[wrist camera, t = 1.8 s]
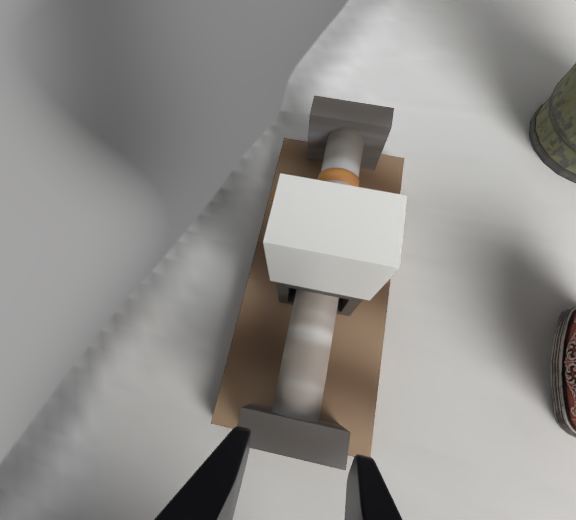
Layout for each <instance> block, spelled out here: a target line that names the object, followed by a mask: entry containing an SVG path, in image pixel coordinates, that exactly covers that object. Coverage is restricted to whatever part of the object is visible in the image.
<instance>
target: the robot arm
mask: <svg viewBox="0 0 576 520" xmlns="http://www.w3.org/2000/svg"><path fill="white" fill-rule="evenodd" d="M250 440H251V430H250V429H248V428H244V427H240V426H236V427H235V428H233V429H232V431H231V432H230V433H229V434H228V435H227V436H226V437H225V439H224V440H223V441H222V442H221V443H220V444H219V446H218V447H217V448H216V449H215V450H214V451H213V452H212V454H211V455H210V456H209V457H208V458H207V459H206V461H205V462H204V463H203V464H202V465H201V466H200V467H199V469H198V470H197V471H196V472H195V473H194V474H193V476H192V477H191V478H190V479H189V480H188V481H187V482H186V484H185V485H184V486H183V487H182V488H181V489H180V491H179V492H178V493H177V494H176V495H175V496H174V497H173V499H172V500H171V501H170V502H169V503H168V504H167V506H166V507H165V508H164V509H163V510H162V511H161V512H160V514H159V515H158V516H157V517H156V518H155V519H154V520H232V519H233V515H234V511H235V507H236V503H237V499H238V495H239V491H240V487H241V482H242V478H243V474H244V470H245V466H246V462H247V458H248V453H249V447H250ZM345 520H402V518H401V516H400V514H399V512H398V509H397V507H396V505H395V503H394V501H393V499H392V497H391V495H390V493H389V490H388V488H387V486H386V484H385V482H384V480H383V478H382V476H381V474H380V472H379V469H378V467H377V465H376V463H375V461H374V460H373V459H372V458H371V457H368V456H364V455H360V454H357V455H356V456H355V457H354V460H353V463H352V466H351V469H350V472H349V475H348V479H347V490H346V506H345Z"/></svg>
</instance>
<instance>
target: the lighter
mask: <svg viewBox="0 0 576 520" xmlns="http://www.w3.org/2000/svg"><path fill="white" fill-rule="evenodd" d="M551 392H552V400H553V407H554V415H555V418H556V421H557V423H558V424H559V426H560V427H561V428H562V429H563V430H564V431H565V432H566V433H567V434H569V435H571V436H573V437H575V438H576V308H572V309H568V310H566V311H564V312H563V313H562V314H561V316H560V317H559V321H558V325H557V328H556V332H555V335H554V340H553V348H552V355H551Z"/></svg>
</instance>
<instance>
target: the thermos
mask: <svg viewBox="0 0 576 520" xmlns="http://www.w3.org/2000/svg"><path fill="white" fill-rule="evenodd" d="M529 135H530V139H531V142H532V145H533V148H534V150H535V151H536V153H537V154H538V155H539V157H540V158H541V160H542V161H543V162H544V163H545V164H546V165H547V166H548V167H550V168H551V169H552V170H553V171H554V172H556V173H557V174H558V175H560V176H562V177H564V178H566V179H568V180H571V181H573V182H575V183H576V64H575V65H574V66H573V67H572V68H571V69H570V71H569V72H568V73H567V74H566V75H565V76H564V77H563V78H562V80H561V81H560V82H559V83H558V84H557V86H556V88H555V89H554V91H553V93H552V95H551V97H550V98H549V99H548V100H547V101H546V102H545V103H544V104H543V105H541V106H540V108H539V109H538V110H537V111H536V113H535V114H534V116H533V118H532V120H531V122H530V133H529Z"/></svg>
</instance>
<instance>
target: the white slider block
mask: <svg viewBox="0 0 576 520" xmlns="http://www.w3.org/2000/svg"><path fill="white" fill-rule="evenodd" d="M406 204H407V195H401V194H395V193H390V192H384V191H378V190H372V189H367V188H361V187H355V186H350V185H344V184H338V183H333V182H327V181H321V180H316V179H310V178H304V177H298V176H293V175H287V174H281V173H280V176H279V180H278V184H277V188H276V192H275V196H274V200H273V204H272V208H271V212H270V216H269V220H268V224H267V228H266V232H265V236H264V240H263V245H264V250H265V256H266V261H267V266H268V272H269V277H270V281H274V282H276V285H277V293H278V300H279V302H281V303H286V304H291V305H293V304H294V299H295V294H296V289H298V290H303V291H308V292H313V293H318V294H323V295H328V296H333V297H338V298H339V301H338V307H337V313H336V314H340V315H345V316H350V315H351V314H352V313H353V311H354V310H355V309H356V308H357V307H358V305H359V304H360V303H361V302H362V301H363V300H369V301H370V300H371V299H372V298H373V297H374V295H375V294H376V293H377V292H378V291H379V290H380V289H381V288H382V287H383V286H384V285H385V284H386V282H387V281H388V280H389V279H390V278H391V277H392V276H393V275H394V274H395V273H396V272H397V271H398V270H399V268H400V261H401V252H402V242H403V233H404V223H405V214H406Z"/></svg>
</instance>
